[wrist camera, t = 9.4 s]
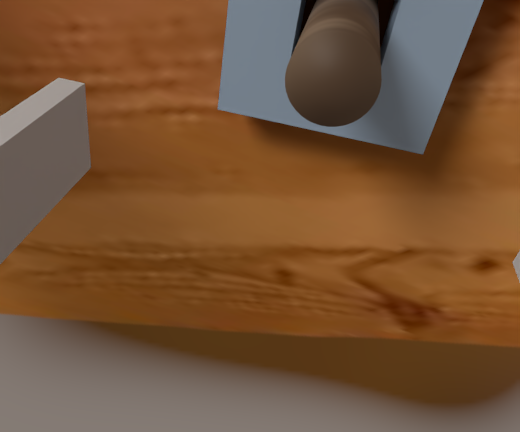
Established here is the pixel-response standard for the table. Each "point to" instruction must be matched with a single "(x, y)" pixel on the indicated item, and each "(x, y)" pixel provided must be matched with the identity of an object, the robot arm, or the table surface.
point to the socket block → (392, 67)
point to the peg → (336, 63)
